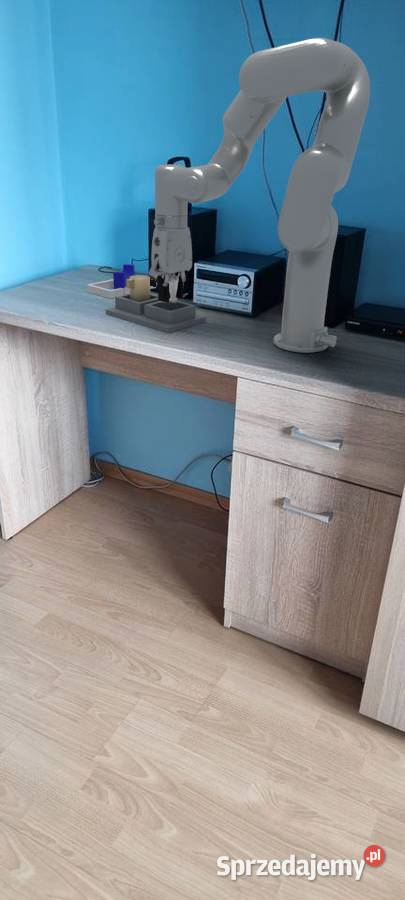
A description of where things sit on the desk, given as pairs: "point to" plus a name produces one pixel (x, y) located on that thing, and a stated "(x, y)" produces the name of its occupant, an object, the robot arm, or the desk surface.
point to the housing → (152, 308)
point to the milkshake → (171, 293)
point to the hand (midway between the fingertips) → (170, 298)
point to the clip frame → (102, 290)
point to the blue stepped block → (123, 276)
